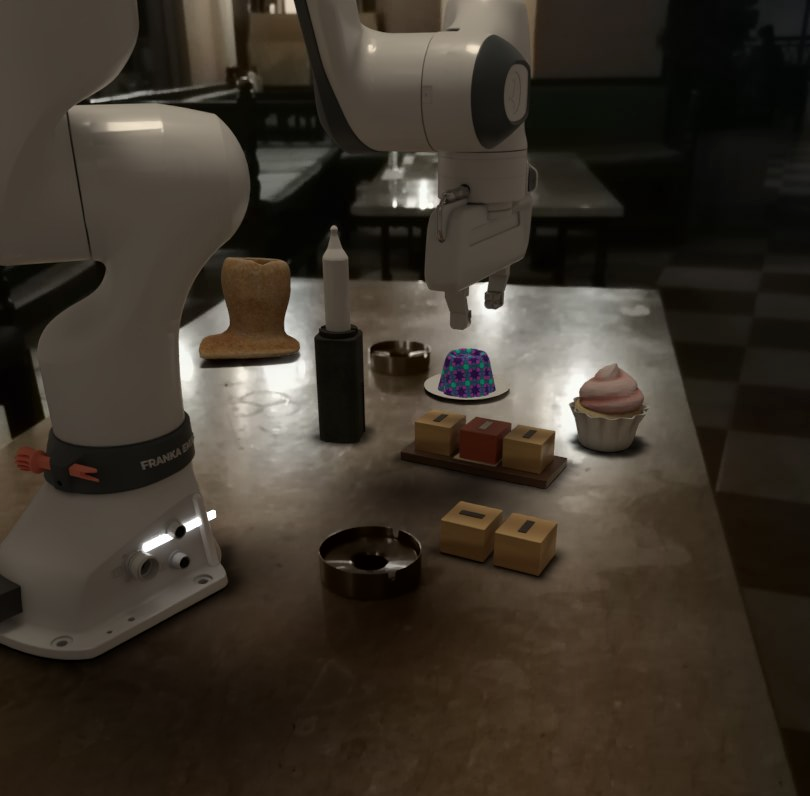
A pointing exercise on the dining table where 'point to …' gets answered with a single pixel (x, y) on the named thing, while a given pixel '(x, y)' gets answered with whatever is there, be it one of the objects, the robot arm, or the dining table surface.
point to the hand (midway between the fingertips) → (477, 317)
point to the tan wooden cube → (525, 543)
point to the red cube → (483, 440)
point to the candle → (339, 354)
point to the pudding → (467, 377)
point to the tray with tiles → (520, 463)
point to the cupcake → (608, 410)
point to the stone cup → (253, 311)
